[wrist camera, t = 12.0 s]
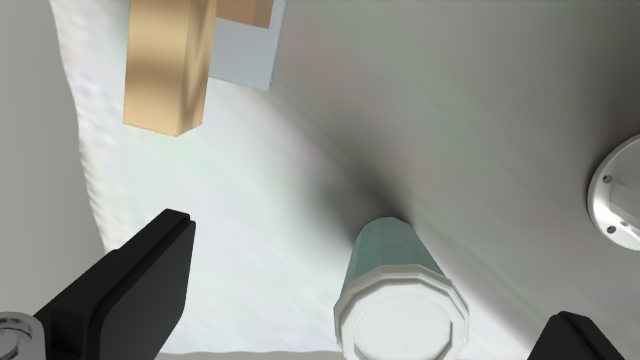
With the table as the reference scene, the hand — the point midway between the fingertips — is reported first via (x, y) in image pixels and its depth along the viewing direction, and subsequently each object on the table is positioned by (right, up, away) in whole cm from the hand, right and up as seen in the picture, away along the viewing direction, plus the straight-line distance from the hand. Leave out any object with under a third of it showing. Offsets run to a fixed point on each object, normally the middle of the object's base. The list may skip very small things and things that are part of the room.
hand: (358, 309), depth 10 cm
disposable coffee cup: (+7, -4, +33) cm, 34 cm away
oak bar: (-11, +18, +20) cm, 29 cm away
